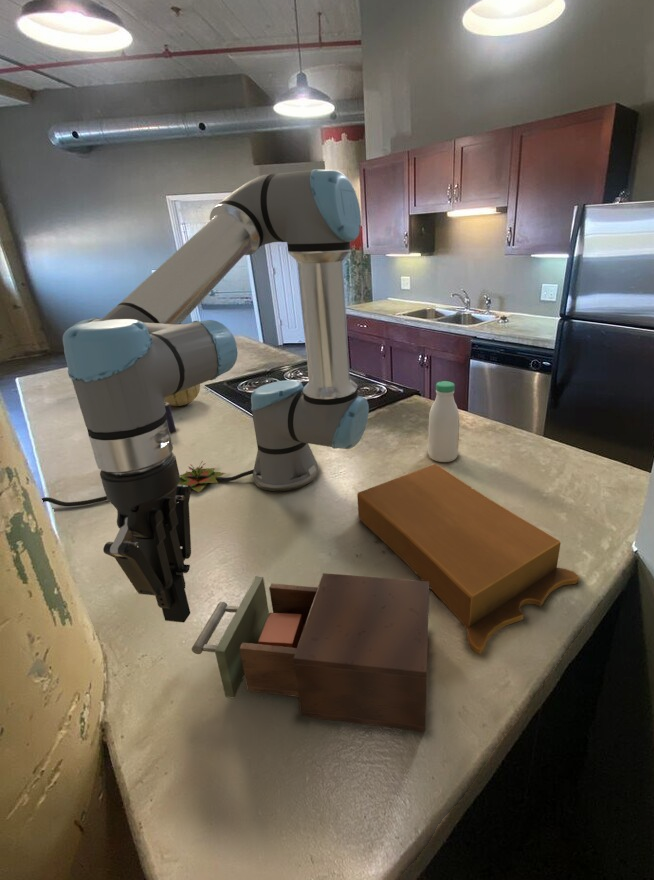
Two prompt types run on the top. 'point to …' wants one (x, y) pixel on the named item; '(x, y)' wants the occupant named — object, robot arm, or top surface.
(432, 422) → the milk bottle
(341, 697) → the cabinet
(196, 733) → the top surface
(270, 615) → the block
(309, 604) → the drawer
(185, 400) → the cantaloupe
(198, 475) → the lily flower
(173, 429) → the flask
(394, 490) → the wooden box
